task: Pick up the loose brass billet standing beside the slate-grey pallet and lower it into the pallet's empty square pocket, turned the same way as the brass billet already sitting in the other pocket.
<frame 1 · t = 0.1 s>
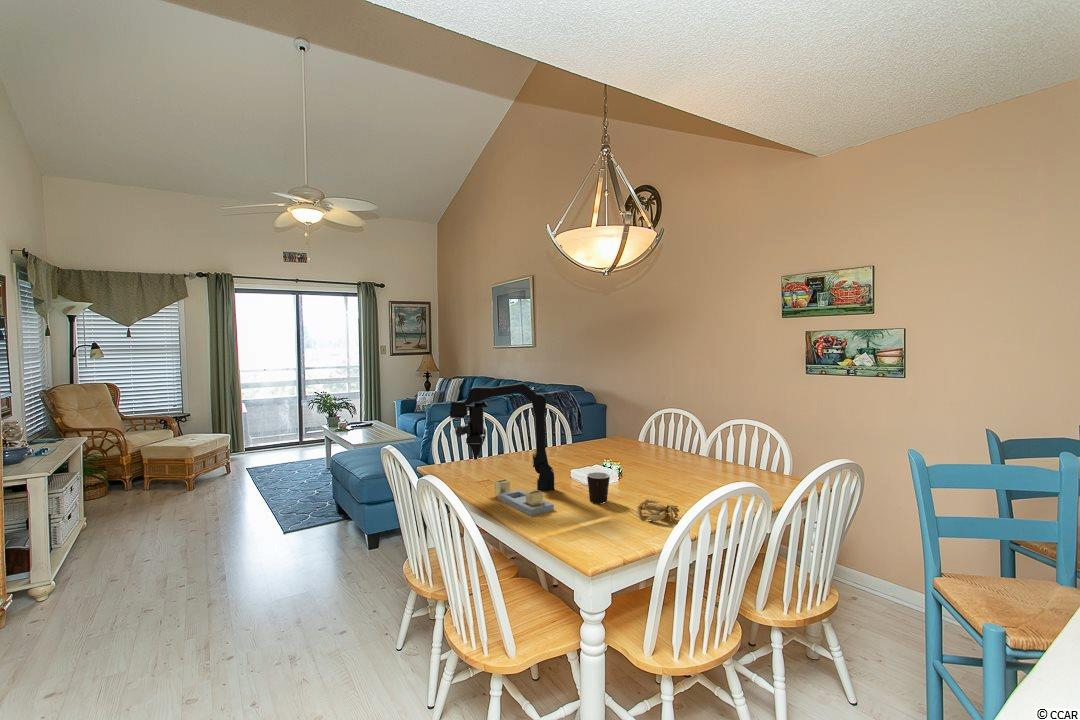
hand: (476, 456, 203), 15 cm above the table, tool pointing down, fingers open, 9 cm apart
crab model: (655, 518, 174), on the table
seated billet: (534, 508, 180), point 1 cm above the table, touching pallet
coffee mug: (596, 502, 190), on the table
pallet: (525, 507, 185), on the table
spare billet: (502, 495, 199), on the table
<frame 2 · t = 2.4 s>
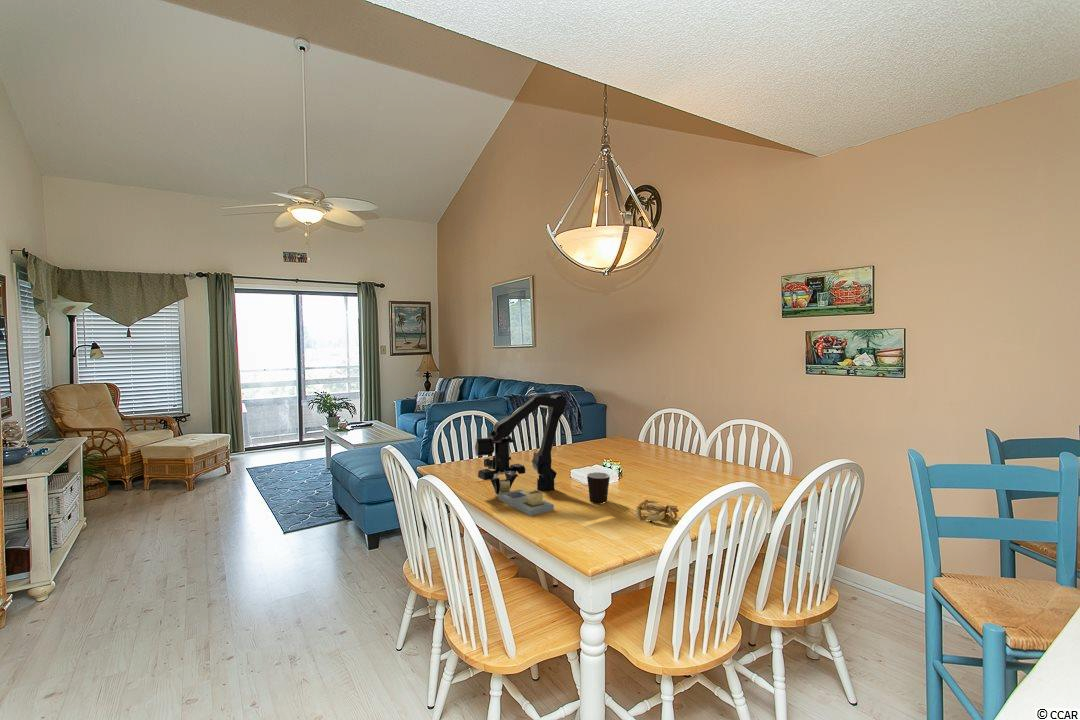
hand: (502, 493, 199), 1 cm above the table, tool pointing down, fingers closed on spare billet, 4 cm apart
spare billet: (502, 495, 199), on the table, touching gripper
everything else where it was.
when the fingers open (5 cm above the table, at t = 6.3 s): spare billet drops 3 cm, resting on pallet.
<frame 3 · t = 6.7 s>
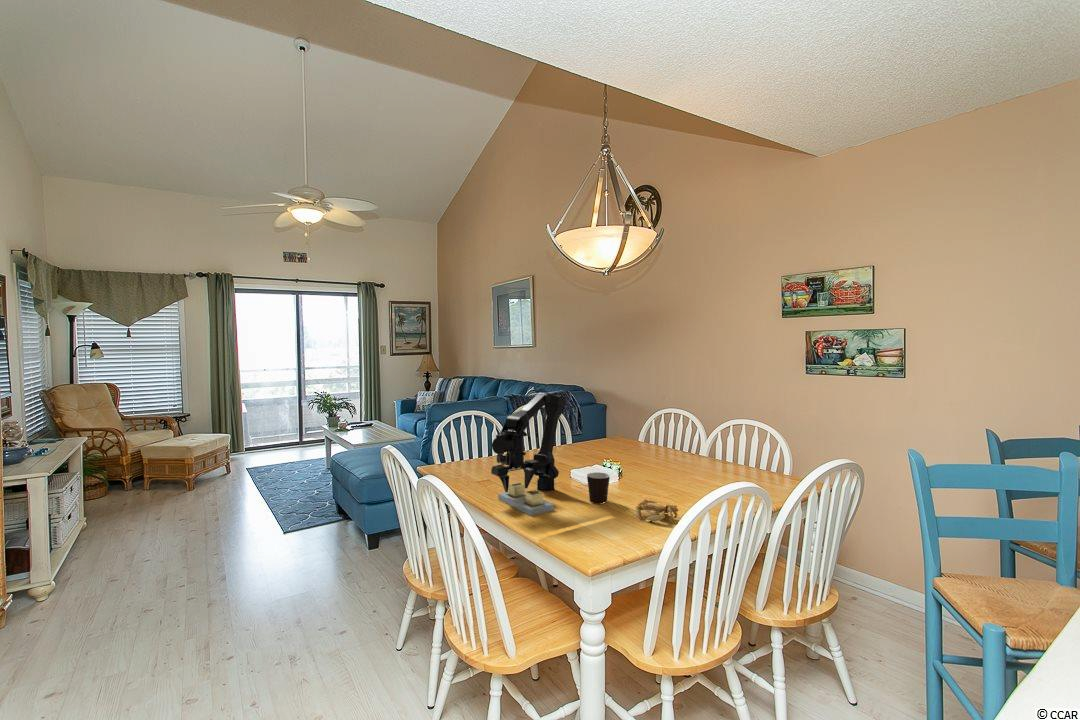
hand: (516, 490, 190), 5 cm above the table, tool pointing down, fingers open, 8 cm apart
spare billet: (516, 500, 190), point 1 cm above the table, touching pallet
everything else where it was.
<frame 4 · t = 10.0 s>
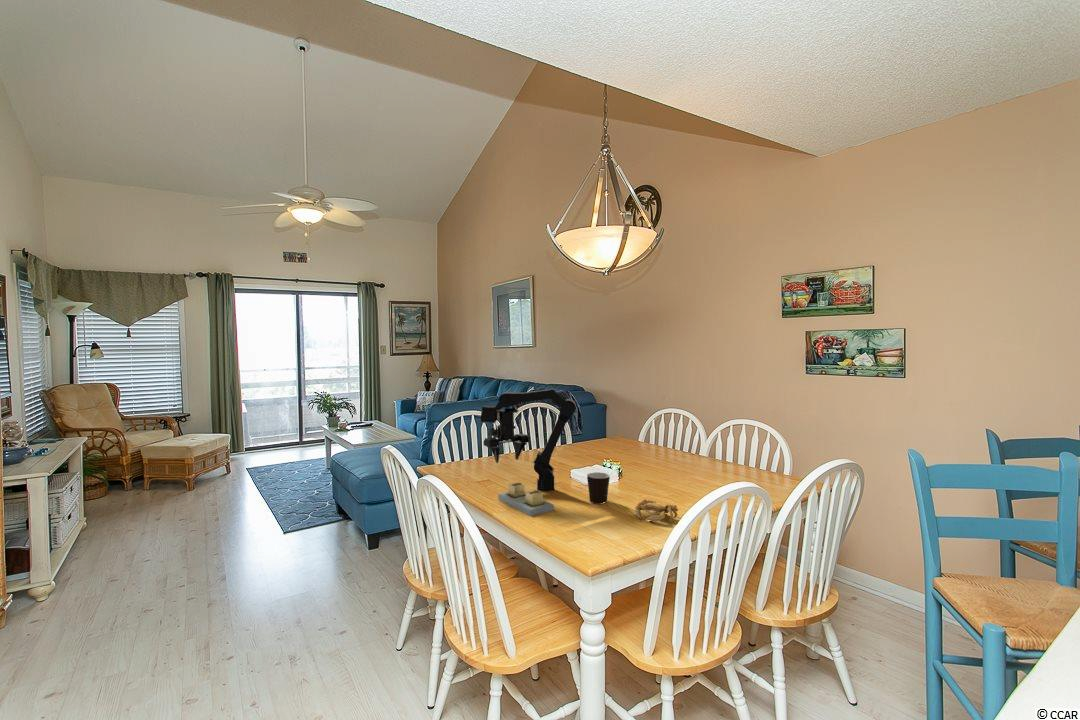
hand: (506, 461, 205), 12 cm above the table, tool pointing down, fingers open, 9 cm apart
nothing on the table moved.
at the end: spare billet 0.1 cm from the target spot on the pallet, point 1.0 cm above the pallet's base; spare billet tilted 0°; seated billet moved 0.0 cm from its start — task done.
